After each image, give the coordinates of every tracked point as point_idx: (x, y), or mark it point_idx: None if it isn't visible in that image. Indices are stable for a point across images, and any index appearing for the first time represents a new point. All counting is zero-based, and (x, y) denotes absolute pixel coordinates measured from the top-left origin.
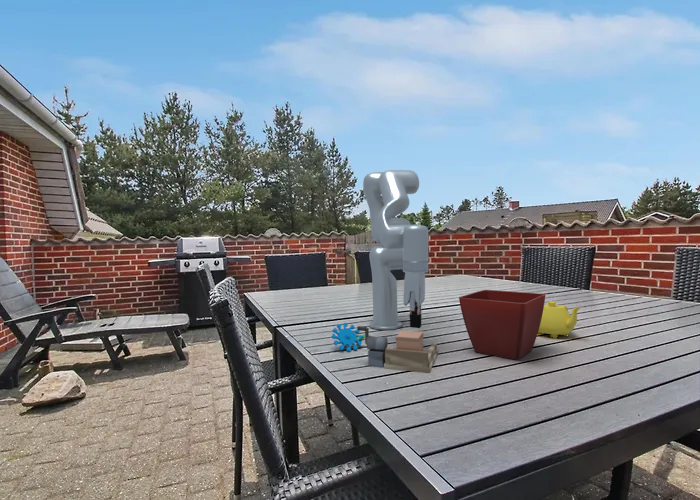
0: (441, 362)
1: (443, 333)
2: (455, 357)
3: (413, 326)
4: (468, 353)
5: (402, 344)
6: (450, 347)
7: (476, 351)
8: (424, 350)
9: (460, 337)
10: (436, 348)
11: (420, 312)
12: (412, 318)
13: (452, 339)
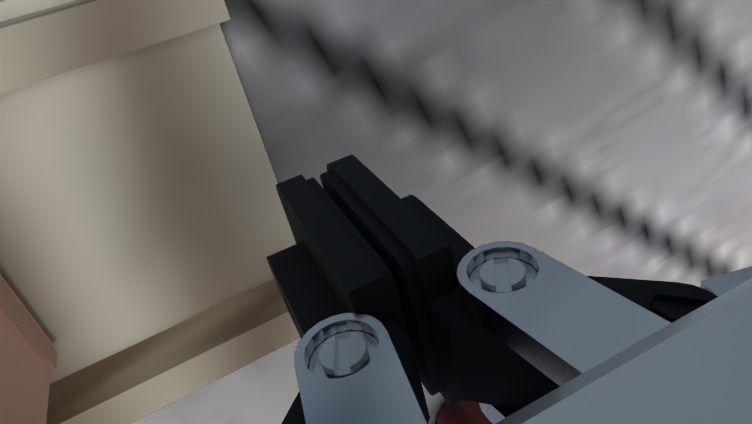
0: None
1: (738, 54)
2: (292, 401)
3: (294, 231)
4: None
5: None
6: None
7: (438, 417)
8: (240, 234)
9: (673, 190)
10: None
11: (483, 403)
12: (296, 319)
13: (628, 175)
